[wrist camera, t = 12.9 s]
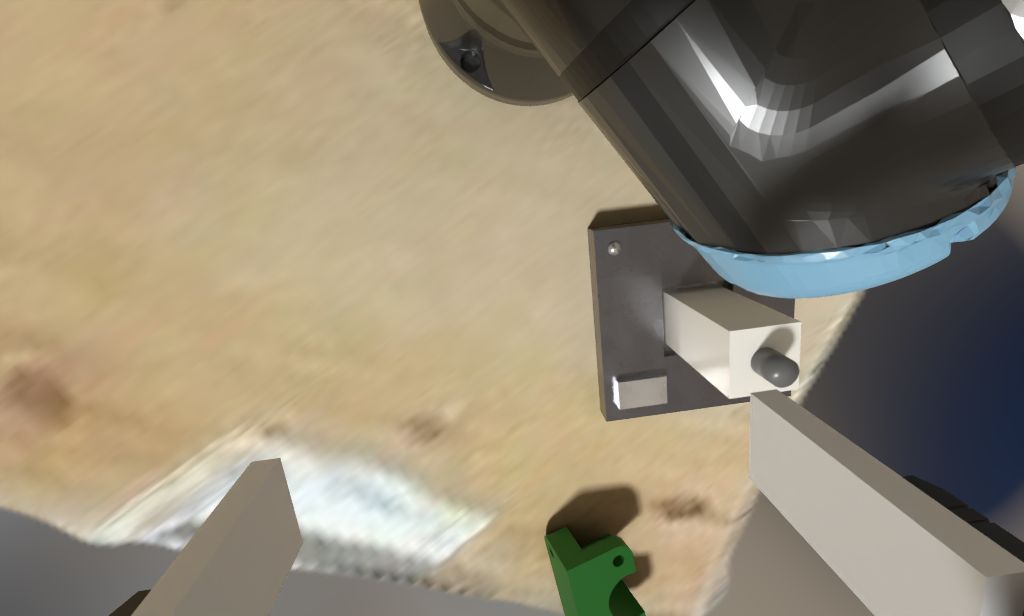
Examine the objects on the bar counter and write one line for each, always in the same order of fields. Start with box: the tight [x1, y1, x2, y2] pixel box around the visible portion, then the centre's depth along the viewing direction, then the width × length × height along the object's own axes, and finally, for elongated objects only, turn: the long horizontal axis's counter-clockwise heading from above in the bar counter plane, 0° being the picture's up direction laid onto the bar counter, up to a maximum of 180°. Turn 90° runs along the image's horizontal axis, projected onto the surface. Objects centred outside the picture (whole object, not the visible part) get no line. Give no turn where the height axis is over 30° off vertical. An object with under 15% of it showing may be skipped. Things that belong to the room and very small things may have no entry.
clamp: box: [545, 527, 646, 616], centre depth 45 cm, size 12×6×9 cm, turn 7°
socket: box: [588, 219, 795, 422], centre depth 40 cm, size 16×16×3 cm
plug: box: [663, 284, 801, 399], centre depth 35 cm, size 4×4×13 cm
